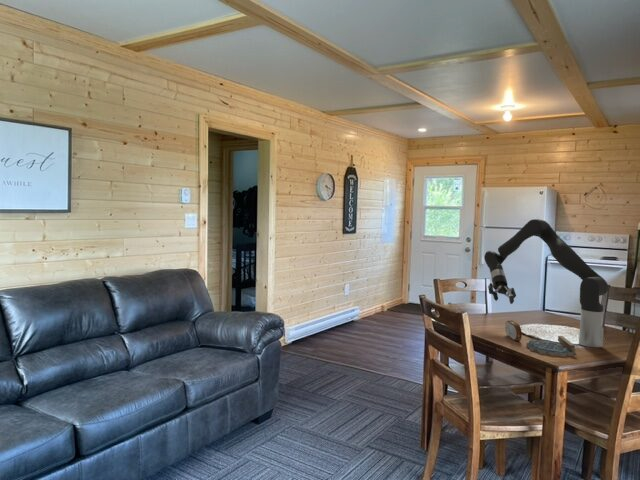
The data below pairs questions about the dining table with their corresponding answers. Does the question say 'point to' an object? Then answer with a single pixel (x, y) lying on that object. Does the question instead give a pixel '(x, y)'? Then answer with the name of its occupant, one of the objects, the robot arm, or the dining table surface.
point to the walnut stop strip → (566, 343)
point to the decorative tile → (549, 348)
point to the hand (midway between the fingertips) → (504, 301)
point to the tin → (513, 330)
